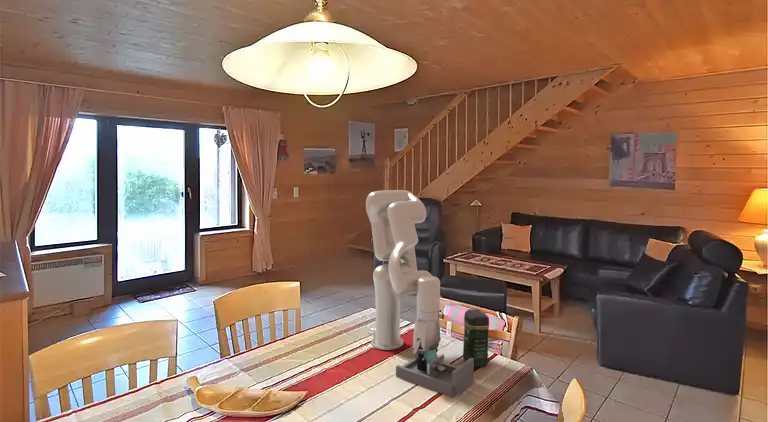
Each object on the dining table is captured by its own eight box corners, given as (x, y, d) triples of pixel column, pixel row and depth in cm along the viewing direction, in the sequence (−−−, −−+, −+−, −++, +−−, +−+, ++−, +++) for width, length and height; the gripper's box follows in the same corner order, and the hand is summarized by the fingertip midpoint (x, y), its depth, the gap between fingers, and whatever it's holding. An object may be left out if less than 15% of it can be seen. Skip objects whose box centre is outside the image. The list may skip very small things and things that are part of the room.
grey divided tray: (395, 376, 147) (396, 353, 146) (416, 363, 156) (416, 341, 155) (454, 398, 133) (455, 373, 132) (473, 382, 143) (473, 358, 142)
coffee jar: (490, 367, 153) (492, 316, 151) (468, 368, 152) (470, 316, 150) (481, 355, 163) (482, 306, 161) (460, 356, 162) (461, 307, 160)
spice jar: (414, 373, 146) (415, 343, 145) (424, 366, 150) (424, 337, 149) (430, 378, 142) (430, 348, 141) (439, 371, 147) (440, 342, 146)
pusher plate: (427, 381, 141) (427, 363, 140) (441, 370, 148) (441, 353, 148) (437, 384, 139) (437, 367, 138) (451, 373, 146) (452, 357, 145)
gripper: (432, 305, 153) (431, 355, 155) (403, 318, 140) (402, 373, 142) (451, 309, 148) (449, 361, 150) (423, 324, 135) (422, 380, 137)
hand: (427, 366), depth 146 cm, fingers closed on spice jar, 5 cm apart
